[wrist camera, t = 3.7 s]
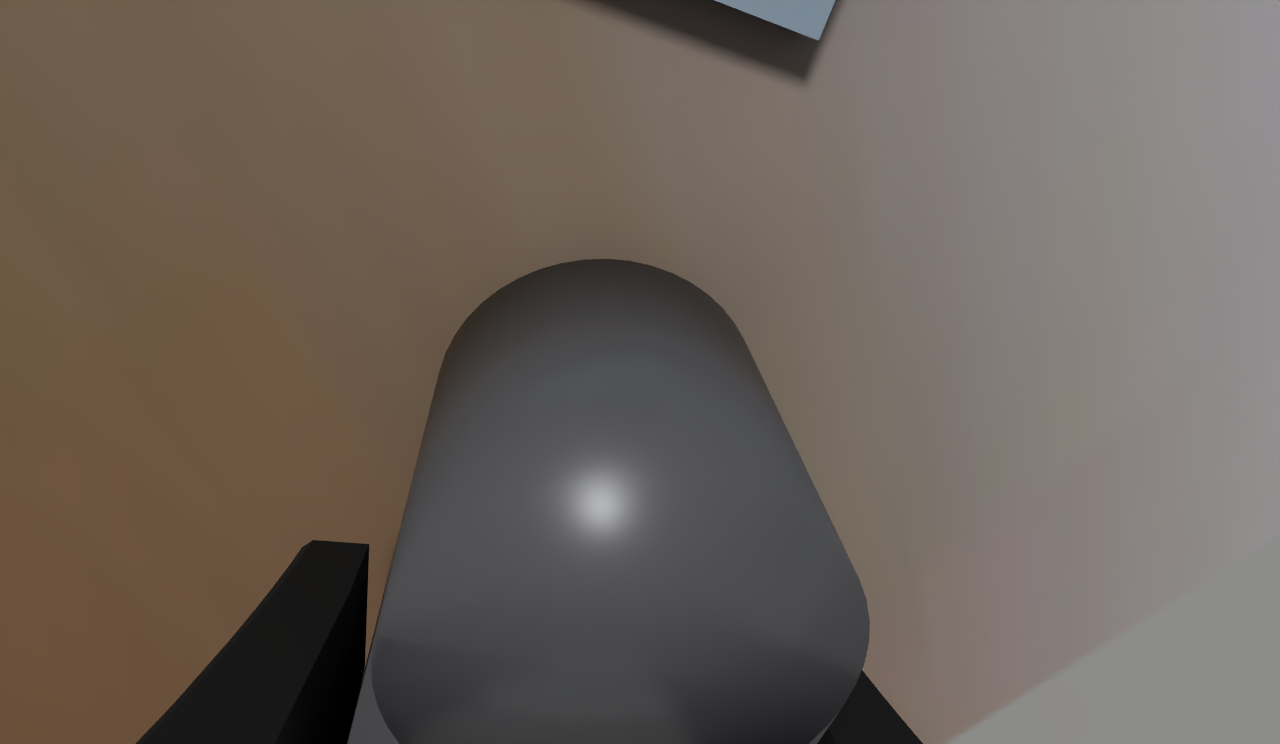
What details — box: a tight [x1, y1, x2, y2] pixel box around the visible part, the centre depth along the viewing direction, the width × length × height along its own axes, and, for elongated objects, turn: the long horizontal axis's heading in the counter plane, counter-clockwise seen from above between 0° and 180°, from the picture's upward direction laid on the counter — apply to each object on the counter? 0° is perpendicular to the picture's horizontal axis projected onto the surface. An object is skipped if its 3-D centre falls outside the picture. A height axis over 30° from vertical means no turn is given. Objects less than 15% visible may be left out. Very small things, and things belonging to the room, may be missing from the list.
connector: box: [347, 259, 870, 744], centre depth 9 cm, size 4×10×4 cm, turn 161°
